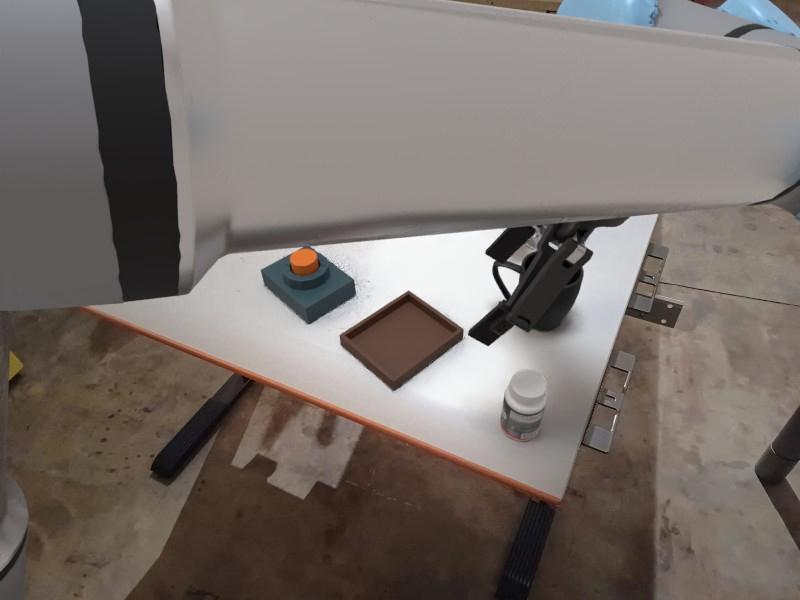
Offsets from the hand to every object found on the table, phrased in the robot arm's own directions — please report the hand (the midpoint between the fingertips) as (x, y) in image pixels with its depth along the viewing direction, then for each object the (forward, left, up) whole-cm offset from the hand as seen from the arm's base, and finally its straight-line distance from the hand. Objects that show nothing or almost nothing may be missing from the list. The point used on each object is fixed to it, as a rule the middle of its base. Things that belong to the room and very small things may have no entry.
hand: (486, 295), depth 65 cm
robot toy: (+27, +12, -13) cm, 32 cm away
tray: (-4, +10, -13) cm, 17 cm away
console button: (-7, +28, -8) cm, 31 cm away
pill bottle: (-3, -10, -13) cm, 17 cm away
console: (-7, +28, -13) cm, 32 cm away
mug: (+13, +1, -13) cm, 18 cm away
